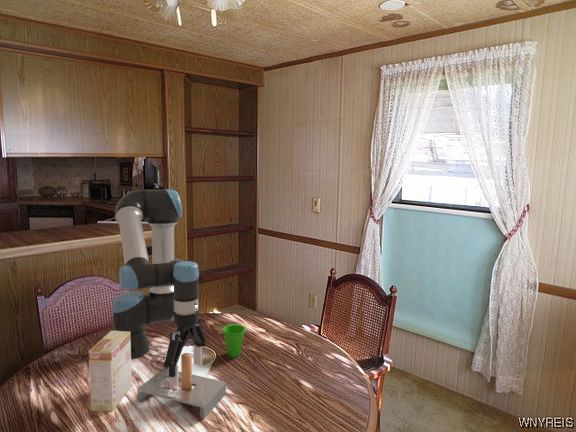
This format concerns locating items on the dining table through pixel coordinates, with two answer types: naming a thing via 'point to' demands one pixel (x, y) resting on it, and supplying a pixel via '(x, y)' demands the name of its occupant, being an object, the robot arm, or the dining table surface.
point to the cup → (234, 339)
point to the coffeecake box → (110, 370)
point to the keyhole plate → (201, 395)
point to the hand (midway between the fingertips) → (186, 374)
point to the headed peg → (186, 372)
